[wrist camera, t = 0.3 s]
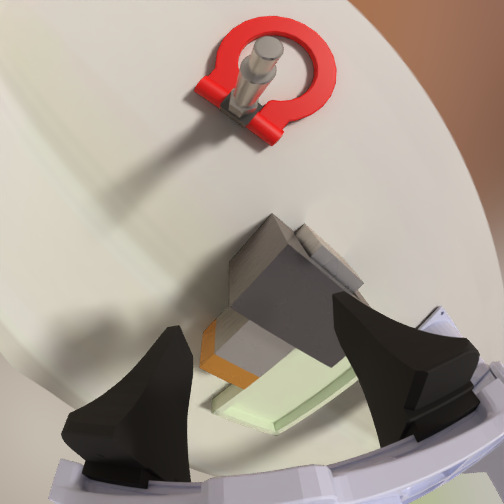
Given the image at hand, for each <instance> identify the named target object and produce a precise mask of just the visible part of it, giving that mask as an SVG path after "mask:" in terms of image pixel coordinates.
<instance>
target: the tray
mask: <svg viewBox="0 0 504 504" xmlns="http://www.w3.org/2000/svg"><path fill="white" fill-rule="evenodd" d="M357 380H358V378H357V376H356V374H355V372H354V370H353V368H352V366H351V365H350V363H349V361H348V359H347V357H346V356H345V357H344V358H343V359H342V360H341V361H339V362H338V363H337V364H336V365H335V366H333V367H332V368H330V367H328V366H327V365H325V364H323V363H321V362H319V361H318V360H316V359H314V358H312V357H311V356H309V355H307V354H305V353H304V352H302V351H300V350H298V349H297V348H295V349H294V350H293V351H291V352H290V353H289V354H288V355H287V356H286V357H284V358H283V359H282V360H281V361H280V362H278V363H277V364H276V365H275V366H274V367H272V368H271V369H270V370H269V371H267V372H266V373H265V374H264V375H262V376H261V377H260V378H259V379H257V380H256V381H255V382H254V383H252V384H251V385H250V386H248V387H247V388H246V389H245V390H244V389H242V388H240V387H238V386H235V385H233V384H231V385H230V386H229V387H228V388H226V389H225V390H224V391H223V392H221V393H220V394H219V395H217V396H216V397H215V398H213V399H212V414H215V415H217V416H220V417H222V418H225V419H227V420H230V421H233V422H235V423H238V424H241V425H244V426H247V427H250V428H253V429H256V430H259V431H262V432H265V433H268V434H271V435H275V436H277V435H278V434H280V433H282V432H283V431H285V430H287V429H288V428H290V427H292V426H293V425H295V424H297V423H298V422H300V421H301V420H303V419H304V418H306V417H307V416H309V415H311V414H312V413H314V412H315V411H316V410H318V409H319V408H321V407H322V406H324V405H325V404H327V403H328V402H329V401H331V400H332V399H334V398H335V397H336V396H338V395H339V394H340V393H342V392H343V391H344V390H346V389H347V388H348V387H350V386H351V385H352V384H354V383H355V382H356V381H357Z"/></svg>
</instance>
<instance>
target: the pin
mask: <svg viewBox="0 0 504 504" xmlns="http://www.w3.org/2000/svg"><path fill="white" fill-rule="evenodd" d="M295 236H296V237H297V239H298V240H299V242H300V244H301V245H302V247H303V248H304V250H305V251H306V253H307V255H308V256H309V257H310V258H311V259H312V260H314V261H315V262H316V263H317V264H318V265H320V266H321V267H322V268H323V269H324V270H325V271H327V272H328V273H329V274H330V275H331V276H332V277H334V278H335V279H336V280H337V281H338V282H340V283H341V284H342V285H343V286H344V287H345V288H346V289H348V290H349V291H350V292H351V293H352V294H354V293H355V292H356V291H357V290H358V289H359V288H360V287H361V286H362V285H363V284H364V283H363V281H362V280H361V279H360V278H359V277H358V275H357V274H356V273H355V272H354V271H353V269H352V268H351V267H350V266H349V265H348V263H347V262H346V261H345V260H344V259H343V258H342V257H341V256H340V255H339V254H338V253H337V252H336V251H335V250H334V249H333V248H332V247H330V246H329V245H328V244H327V243H326V242H325V241H324V240H323V239H322V238H321V237H319V236H318V235H317V234H316V233H315V232H314V231H313V230H312V229H310V228H309V227H308V226H307V225H306V224H305V223H304V225H303V226H302V227H301V228H300V229H299V230H298V231H297V232H296V233H295ZM294 349H295V347H293V346H292V345H290V344H288V343H287V342H285V341H283V340H282V339H280V338H278V337H277V336H275V335H273V334H272V333H270V332H268V331H267V330H265V329H263V328H262V327H260V326H259V325H257V324H255V323H254V322H252V321H251V320H249V319H247V318H246V317H244V316H243V315H241V314H239V313H238V312H236V311H235V310H233V309H232V308H230V307H229V306H228V307H227V308H226V309H225V310H224V311H223V312H222V313H221V314H220V315H219V316H218V317H217V318H216V319H215V321H214V322H213V323H212V324H211V325H210V326H209V327H208V328H207V329H206V330H205V331H204V332H203V338H202V347H201V357H200V367H199V368H201V369H203V370H205V371H207V372H209V373H211V374H213V375H215V376H217V377H219V378H221V379H223V380H225V381H227V382H229V383H231V384H233V385H235V386H238V387H240V388H242V389H244V390H245V389H246V388H247V387H248V386H250V385H251V384H252V383H254V382H255V381H256V380H257V379H259V378H260V377H261V376H262V375H264V374H265V373H266V372H267V371H269V370H270V369H271V368H272V367H274V366H275V365H276V364H277V363H278V362H280V361H281V360H282V359H283V358H284V357H286V356H287V355H288V354H289V353H290V352H291V351H293V350H294Z"/></svg>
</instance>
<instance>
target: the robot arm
mask: <svg viewBox="0 0 504 504" xmlns="http://www.w3.org/2000/svg"><path fill="white" fill-rule="evenodd" d="M332 301H333V320H334V330H335V332H336V335H337V338H338V341H339V343H340V346H341V348H342V349H343V351H344V353H345V355H346V357H347V359H348V361H349V363H350V365H351V366H352V368H353V370H354V372H355V374H356V376H357V378H358V380H359V382H360V384H361V386H362V389H363V392H364V394H365V397H366V400H367V403H368V406H369V409H370V412H371V415H372V418H373V421H374V425H375V428H376V431H377V435H378V439H379V443H380V447H381V448H380V449H377V450H375V451H372V452H369V453H366V454H363V455H360V456H357V457H354V458H351V459H348V460H345V461H341V462H338V463H334V464H330V465H327V466H324V465H314V464H312V465H304V466H297V467H292V468H286V469H281V470H274V471H268V472H261V473H253V474H243V475H232V476H221V477H214V478H210V479H208V480H206V481H204V482H198V483H197V482H195V483H193V482H191V479H190V470H189V460H188V444H187V415H188V407H189V399H190V392H191V385H192V378H193V355H192V353H191V351H190V348H189V346H188V344H187V342H186V340H185V337H184V335H183V333H182V330H181V328H180V326H179V325H178V326H172V327H167V328H166V330H165V331H164V332H163V333H162V334H161V336H160V337H159V338H158V339H157V341H156V342H155V343H154V345H153V346H152V347H151V348H150V350H149V351H148V352H147V353H146V355H145V356H144V357H143V358H142V359H141V360H140V361H139V362H138V364H137V365H136V366H135V367H134V368H133V369H132V370H131V371H130V372H129V373H128V374H127V375H126V376H125V377H124V378H123V379H122V380H121V381H120V382H118V383H117V384H116V385H115V386H113V387H112V388H111V389H110V390H108V391H107V392H106V393H104V394H103V395H101V396H100V397H99V398H97V399H95V400H94V401H92V402H91V403H89V404H87V405H85V406H83V407H81V408H79V409H77V410H75V411H73V412H71V413H70V414H69V415H68V418H67V420H66V423H65V425H64V428H63V431H62V433H61V436H62V439H63V440H64V442H65V443H66V444H67V445H68V446H69V447H70V448H71V449H72V450H74V451H75V452H76V453H77V454H78V455H80V456H81V457H82V458H83V459H84V460H85V464H84V465H82V464H80V463H77V462H73V461H69V460H65V459H60V462H59V464H58V467H57V471H56V474H55V477H54V481H53V484H52V487H51V491H50V494H49V500H50V501H51V502H53V503H55V504H408V503H410V502H412V501H414V500H416V499H418V498H420V497H422V496H424V495H426V494H428V493H430V492H431V491H433V490H435V489H436V488H438V487H440V486H441V485H443V484H445V483H447V482H448V481H450V480H451V479H453V478H454V477H456V476H458V475H459V474H461V473H476V472H487V474H488V476H489V478H490V479H491V481H492V483H493V485H494V486H495V488H496V490H497V492H498V494H499V496H500V497H501V499H502V501H503V503H504V365H503V364H502V363H501V362H500V361H498V362H492V363H491V364H490V365H487V364H486V363H485V362H484V361H483V359H482V358H481V357H480V354H479V352H478V350H477V349H476V348H475V347H474V346H473V345H472V343H471V342H470V341H469V340H468V339H467V338H463V337H462V335H461V334H460V332H459V331H458V329H457V327H456V326H455V324H454V323H453V321H452V320H451V318H450V317H449V315H448V314H447V312H446V311H445V309H444V308H443V307H442V306H440V307H438V308H437V309H436V310H435V311H434V312H433V313H432V315H431V316H430V317H429V318H428V319H427V320H426V321H425V322H424V323H423V324H422V325H421V326H420V327H419V328H418V329H415V328H412V327H409V326H407V325H404V324H402V323H399V322H397V321H395V320H392V319H390V318H388V317H386V316H385V315H383V314H381V313H379V312H377V311H375V310H374V309H372V308H370V307H369V306H367V305H365V304H364V303H362V302H361V301H359V300H358V299H356V298H355V297H353V296H352V295H350V294H349V293H347V292H345V291H342V292H338V293H334V294H332Z"/></svg>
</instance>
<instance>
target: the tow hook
mask: <svg viewBox="0 0 504 504" xmlns="http://www.w3.org/2000/svg"><path fill="white" fill-rule="evenodd" d="M269 35H277V36H283V37H286V38H289V39H292V40H294V41H295V42H297V43H298V44H300V45H301V46H302V47H303V48H304V49H305V50H306V51H307V52H308V54H309V56H310V57H311V59H312V62H313V66H314V78H313V81H312V84H311V86H310V87H309V89H308V90H307V91H306V92H305V93H304V94H303V95H301V96H300V97H298V98H295V99H292V100H286V101H276V100H271V101H268V102H267V104H266V105H265V106H264V107H263V108H262V105H261V104H259V103H258V99H259V97H260V95H261V94H262V93H263V91H264V90H265V89H266V87H267V86H268V85H269V84H270V82H271V81H272V80H273V78H274V77H275V75H276V65H275V64H276V63H277V61H278V60H279V58H280V57H281V56H282V54H283V51H284V47H283V44H282V43H281V42H280V41H279V40H278V39H277V38H275V37H271V36H269ZM263 36H264V37H263ZM260 37H261V38H260ZM256 38H259V39H258V40H257V41H256V42H255V44H254V47H253V50H252V53H251V55H249V56H247V57H246V58H245V59H244V60H243V61H242V63H241V66H240V70H239V68H238V59H239V56H240V54H241V51H242V50H243V49H244V47H245V46H246V45H247V44H248V43H250V42H251V41H253V40H254V39H256ZM335 84H336V65H335V61H334V57H333V55H332V53H331V51H330V49H329V47H328V45H327V44H326V42H325V41H324V40H323V39H322V38H321V37H320V36H319V35H318V34H317V33H316V32H315V31H313V30H312V29H311V28H309V27H308V26H306V25H305V24H302V23H300V22H298V21H295V20H293V19H290V18H284V17H278V16H265V17H257V18H254V19H251V20H247V21H245V22H243V23H241V24H240V25H238V26H236V27H235V28H233V29H232V30H231V31H230V32H229V33H228V34H227V35H226V37H225V38H224V39H223V40H222V42H221V44H220V47H219V49H218V51H217V56H216V64H215V69H214V70H213V71H212V72H211V73H210V75H209V76H205V77H203V78H202V79H201V80H200V81H199V83H198V84H197V85H196V87H195V89H194V92H196V93H198V94H199V95H201V96H202V97H204V98H205V99H207V100H208V101H210V102H211V103H213V104H214V105H215V106H217V107H218V108H220V111H222V112H223V113H225V114H226V115H227V116H229V117H230V118H232V119H233V120H234V121H236V122H237V123H239V124H240V125H241V126H243V127H246V128H248V129H249V130H250V131H252V132H253V133H254V134H256V135H257V136H258V137H260V138H261V139H262V140H264V141H265V142H266V143H268V144H269V145H270V146H273V145H274V144H276V143H277V142H278V140H279V139H280V138H281V137H282V135H283V133H284V131H283V130H282V129H283V128H284V127H285V126H286V125H287V123H288V122H291V121H296V120H299V119H302V118H304V117H307V116H310V115H312V114H313V113H315V112H316V111H317V110H319V109H320V108H321V107H323V106H324V104H325V103H326V102H327V100H328V99H329V98H330V96H331V95H332V92H333V89H334V86H335ZM261 108H262V109H261ZM260 109H261V111H260V112H259V110H260Z"/></svg>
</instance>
